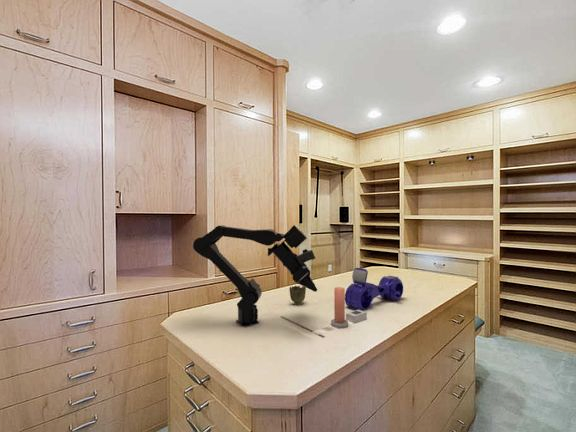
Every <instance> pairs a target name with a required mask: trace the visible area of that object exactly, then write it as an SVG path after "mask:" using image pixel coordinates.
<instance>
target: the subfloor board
mask: <svg viewBox="0 0 576 432" xmlns="http://www.w3.org/2000/svg"><path fill="white" fill-rule="evenodd" d="M280 318H281V319H283V320H285V321H288V322H290V323H292V324H294V325H295V326H298V327H300V328H302V329H305V330H306V331H309V332H310V333H312V334H314V335H316V336H318V337H321V338H322V339H323V338H326V336H324V334H325V333H328V332H330V331H331V332H332V331H333V330H336V329H338V328H335V327H333V326H332V325H331V324H330V325H329V326H325V327H322V328H319V329H316V330H312V329H310V328H308V327H306V326H303V325H301V324H299V323H297V322H295V321H293V320H291V319H289V318H288V317H287V318H286V317H285V316H283V315H281V316H280ZM351 324H354V323H353V322H350V321H348V326H349V325H351Z"/></svg>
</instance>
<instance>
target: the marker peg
mask: <svg viewBox="0 0 576 432" xmlns="http://www.w3.org/2000/svg"><path fill="white" fill-rule="evenodd" d="M333 289H334V295H333V297H334V299H333V301H334V306H333V307H334V309H333V310H334V314H333V315H334V319H331V321H330V326H331V325H332V326H333V327H335V328H337V329H345V328H348V327H349V325H348V321H347V320H346V308H345V307H346V303H345V293H346V291H345V290H346V289H345V287H339V286H337V287H334V288H333Z"/></svg>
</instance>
